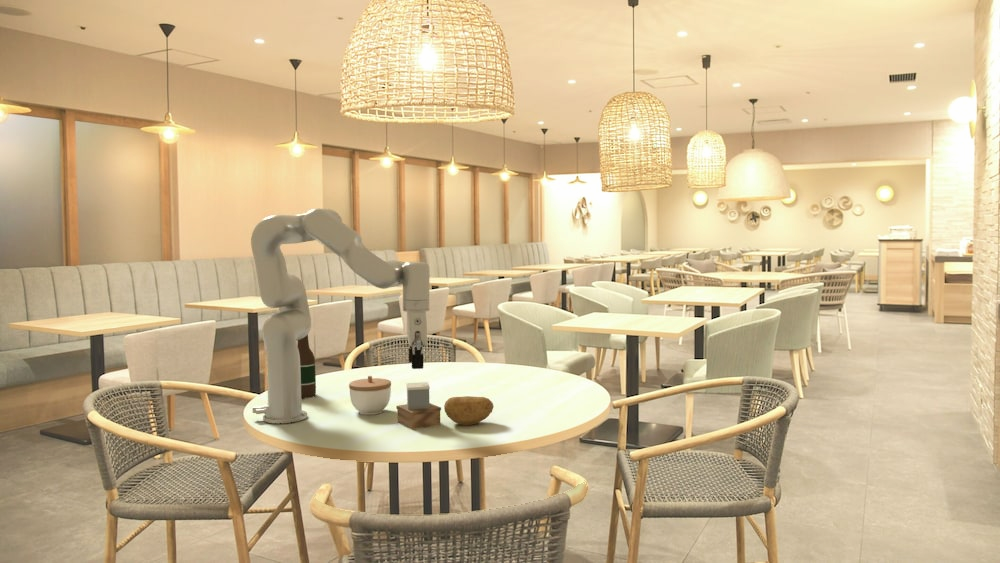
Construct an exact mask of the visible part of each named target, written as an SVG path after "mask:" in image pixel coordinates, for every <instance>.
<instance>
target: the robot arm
mask: <svg viewBox="0 0 1000 563" xmlns="http://www.w3.org/2000/svg"><path fill="white" fill-rule="evenodd" d="M313 241H317V242H318V243H319V244H320V245H322V246H324V247H325V248H327V249H328V250H330V252H331V251H332V253H333V254H335V255H336V256H338V257H339V258H341V260H342V261H343V262H344V263H345V265H347V267H348V268H349V269H351V271H353V273H355V274H356V275H358V276H359V277H361V278H362V280H365V281H366V282H368V283H369V284H371V285H372V286H374V287H376V288H379V289H382V290H385V289H389V288H394V287H399V286H402V311H403V312H406V332H407V333H406V334H407V335H406V336H407V343H408V344H409V348H408V362H409V363H411V369H413V370H416V369H417V370H422V369H424V348H423V346H424V347H427V346H428V331H427V330H428V328H427V312H430V273H431V272H430V265H429V264H428V262H425V261H424V262H423V261H409V262H408V261H400V260H383V259H382V258H380V257H379V256H377V255H376V254H375V253H374V252H372V251H370V250H369V249H368V248H367V247H366V246H365V244H364V242H363V240H362V237H361V234H359V232H357V231H355V229H352V228H351V227H350V226H348V225H346V224H345V223H344V222H343V220H342V217H341V215H340V214H339V213H338V212H337V211H335V210H334V209H330V208H313V209H311V210H308V211H307V212H306V213H302V214H301V213H300V214H294V215H293V214H292V215H289V214H287V215H286V214H273V215H270V216H267V217H265V218H263V219H262V220H260V221H259V222H258V223H257V224H256V225H255V227H254V229H253V231H252V234H251V238H250V246H251V251H252V252H251V253H252V256H253V260H254V265H255V271H256V276H257V284H258V289H259V294H260V299H261V302H262V303H263V304H264V305H265V306H266V307H267V308H270V309H278V310H279V311H278V312H277V313H273V314H272V315H270V316H268V318H266V319H265V321H264V323H263V325H262V339H263V344H264V348H265V357H266V360H265V361H266V362H265V363H266V380H267V403H266V404H264V405H263V406H258V405H257V406H255V405H254V406H252V414H256V415H261V414H264V415H263V416H262V420H263V422H265V423H268V424H275V423H276V424H278V425H279V424H280V423H281V424H291V422H292V423H297V422H301V421H303V420H306V419H307V417H308V412H307V411H305V410H303V408H302V406H303V405H302V404H303V403H302V398H301V370H300V355H299V350H298V346H297V345H298V340H300V339H302V338H304V337H305V336H306V335H307V334H309V333H310V331H311V328H312V318H311V313H310V312H311V311H310V306H309V302H308V296H307V295H308V294H307V290H306V288H305V285H304V283H303V281H302V280H301V279H300V278H299V277H298V276H296V275H294V274H290V273H288V269H287V263H286V259H285V256H284V253H283V252H282V250H281V246H282V245H291V244H301V243H306V242H313Z"/></svg>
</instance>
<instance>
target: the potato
mask: <svg viewBox="0 0 1000 563" xmlns="http://www.w3.org/2000/svg"><path fill="white" fill-rule="evenodd" d="M443 407H444V412H445V414H446V416H447V417H448V419H450V420H451V421H452V422H454V423H456V424H458V425H463V426H472V425H475V424H478V423H480V422H482V421H485V419H487V418H488V417H489V416H490V415H491V413H493V411H494V403H493V401H492V400H491V399H489V398H487V397H484V396H466V395H465V396H453V397H450V398H448V399H447V400H446V401H445V403H444V406H443Z"/></svg>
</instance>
